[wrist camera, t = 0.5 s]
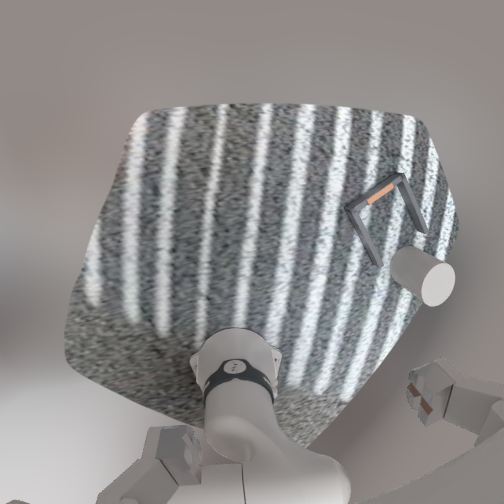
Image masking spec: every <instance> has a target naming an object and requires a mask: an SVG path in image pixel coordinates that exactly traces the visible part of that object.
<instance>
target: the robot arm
mask: <svg viewBox="0 0 504 504" xmlns="http://www.w3.org/2000/svg"><path fill="white" fill-rule="evenodd" d="M281 358H282V353H281V350H279V349H278V348H276V347H273V346H271V345H269V344H268V343H267V342H266V341H265V340H264V339H263V338H262V337H261V336H260V335H258V334H257V333H255V332H253V331H250V330H247V329H241V328H231V329H225V330H222V331H219V332H217V333H215V334H213V335H212V336H211V337H209V338H208V339H207V340H206V341H205V343H204V344H203V346H202V348H201V349H200V350H199V351H198V352H197V353H195V354H194V355H192V356H191V357H190V365H191V367H192V369H193V371H194V374H195V376H196V382H197V384H199V386H200V388H201V390H202V392H203V404H204V408H205V425H204V433H205V437H206V439H207V442H208V443H209V445H210V446H211V447H212V448H213V449H214V450H216V451H217V452H218V453H219V454H221V455H222V456H224V457H226V458H228V459H232V460H234V461H237V462H240V463H235V464H217V465H199V464H200V463H201V462H202V450H201V446H200V443H199V441H198V439H197V438H195V437H194V436H193V435H194V434H193V433H194V431H193V429H192V427H191V425H180V426H163V427H150V428H149V430H148V433H147V437H146V441H145V445H144V449H143V454H142V458H141V459H138V460H136V462H134V463H133V464H132V465H131V466H130V467H129V468H128V469H127V470H126V471H125V472H123V473H122V474H121V475H120V476H119V477H118V478H117V479H115V480H114V481H113V482H112V483H111V484H110V485H109V486H107V487H106V488H105V489H104V490H103V491H102V492H101V493H99V495H98V497H97V501H96V504H348V503H349V500H350V495H351V485H350V480H349V477H348V474H347V473H346V471H345V469H344V468H343V467H342V466H341V465H340V464H339V463H338V462H337V461H336V460H334V459H333V458H331V457H329V456H325V455H321V454H317V453H314V452H311V451H309V450H307V449H305V448H303V447H301V446H299V445H298V444H296V443H295V442H293V441H292V440H291V439H290V438H289V437H287V436H286V435H285V433H284V432H283V431H282V430H281V428H280V426H279V424H278V421H277V418H276V415H275V412H274V408H273V403H274V398H277V388H276V387H275V386H277V385H278V379H277V375H278V371H279V366H280V362H281ZM275 359H276V360H275ZM196 365H197V366H196ZM408 379H409V380H410V382H411V383H410V384H409V385H408V387H407V399H408V402H409V404H410V406H411V407H412V409H415V410H418V417H419V418H420V420H421V421H422V423H423V424H424V425H425V427H426V426H428V425H430V424H433V423H435V422H437V421H439V420H441V419H443V418H444V420H446V421H448V422H450V423H453V424H455V425H457V426H459V427H461V428H464V429H466V430H468V431H471V432H473V433H475V434H477V435H479V436H478V438H477V440H476V442H475V444H474V448H472V449H470V450H469V451H467V452H466V453H464V454H462V455H461V456H459V457H457V458H455V459H454V460H452V461H450V462H449V463H447V464H445V465H443V466H441V467H439V468H437V469H435V470H433V471H431V472H429V473H427V474H425V475H423V476H421V477H419V478H417V479H415V480H412V481H410V482H408V483H406V484H403V485H401V486H399V487H396V488H394V489H392V490H389V491H387V492H384V493H381V494H379V495H377V496H373V497H371V498H368V499H365V500H362V501H359V502H356V503H353V504H504V385H503V384H499V383H494V382H490V381H485V380H481V379H477V378H473V377H467V378H466V377H465V376H464V375H463V374H462V373H461V372H460V371H459V370H458V369H457V368H456V367H455V366H454V365H452V363H450V362H449V361H448V360H447V359H446V358H445V357H441V358H439V359H437V360H434V361H432V362H430V363H428V364H426V365H423V366H421V367H418V368H416V369H414V370H411V371H410V373H409V378H408ZM7 504H29V503H26V502H23V501H19V500H12V501H11V502H9V503H7Z"/></svg>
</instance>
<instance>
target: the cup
mask: <svg viewBox="0 0 504 504" xmlns="http://www.w3.org/2000/svg"><path fill="white" fill-rule="evenodd" d="M390 273H391V276H392V278H393V279H394V280H395V281H396V282H398V283H399V284H400V285H402V286H403V287H404V288H406V289H407V290H408V291H410V292H411V293H412V294H414V295H415V296H416V297H418V298H419V299H420V300H422V301H423V302H424V303H426V304H427V305H429V306H437V305H439V304H441V303H443V302H444V301H445V300H446V299H447V298H448V297H449V295H450V294H451V292H452V290H453V287H454V283H455V273H454V270H453V268H452V267H451V266H450V265H448V264H447V263H445V262H443V261H441V260H439V259H437V258H435V257H433V256H431V255H429V254H427V253H425V252H423V251H421V250H419V249H417V248H415V247H413V246H404V247H402V248H400V249H399V250H398V251H397V252H396V253H395V254H394V256H393V258H392V260H391V263H390Z"/></svg>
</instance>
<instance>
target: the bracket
mask: <svg viewBox="0 0 504 504" xmlns="http://www.w3.org/2000/svg"><path fill="white" fill-rule="evenodd" d="M395 185H397V186H398V188H399V190H400V192H401V195H402V197H403V199H404V201H405V203H406V206H407V208H408V210H409V212H410V215H411V217H412V220H413V222H414V224H415V227H416V229H417V231H419V232H421V233H424V234H426V233H427V232H428V228H427V226H426V223H425V221H424V218H423V216H422V213H421V211H420V208H419V206H418V204H417V201H416V199H415V197H414V194H413V192H412V190H411V188H410V185H409V183H408V181H407V179H406V177H405V175H404V173H394V174H393V175H392V176H390V177H389V178H387V179H386V180H384V181H383V182H381V183H380V184H378V185H377V186H375V187H374V188H372V189H371V190H370V191H368V192H367V193H365V194H364V195H362V196H361V197H359V198H358V199H356V200H355V201H353V202H352V203H350V204H349V205H347V206H346V207H344V209H345V211H346V212H347V214H348V216H349V218H350V220H351V222H352V223H353V225H354V227H355V229H356V231H357V233H358V235H359V237H360V239H361V241H362V242H363V244H364V246H365V248H366V250H367V252H368V254H369V256H370V258H371V260H372V262H373V264H374V265H376V266H377V267H379V268H381V267H383V266H384V264H383V262H382V260H381V258H380V256H379V254H378V252H377V250H376V248H375V246H374V244H373V242H372V240H371V238H370V236H369V234H368V232H367V230H366V228H365V226H364V224H363V222H362V220H361V218H360V216H359V214H358V211H359V210H361V209H362V208H364V207H365V206H367V205H370V204H371V203H373V202H374V201H376V200H377V199H379V198H380V197H381V196H383V195H384V194H386V193H387V192H389V191H390V190H391V189H393V188H394V186H395Z"/></svg>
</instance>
